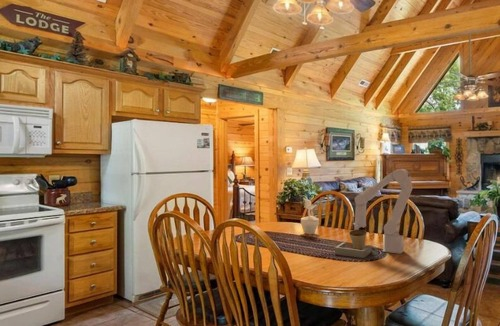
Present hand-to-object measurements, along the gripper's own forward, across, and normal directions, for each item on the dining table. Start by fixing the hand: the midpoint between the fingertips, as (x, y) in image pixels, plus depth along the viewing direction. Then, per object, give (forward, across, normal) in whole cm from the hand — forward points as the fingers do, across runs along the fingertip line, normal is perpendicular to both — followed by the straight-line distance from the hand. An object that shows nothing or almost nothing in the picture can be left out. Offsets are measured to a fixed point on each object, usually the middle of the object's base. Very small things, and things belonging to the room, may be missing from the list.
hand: (359, 240), depth 210 cm
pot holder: (+3, +14, +1) cm, 15 cm away
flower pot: (+3, +3, +1) cm, 5 cm away
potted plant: (+6, -19, -38) cm, 43 cm away
